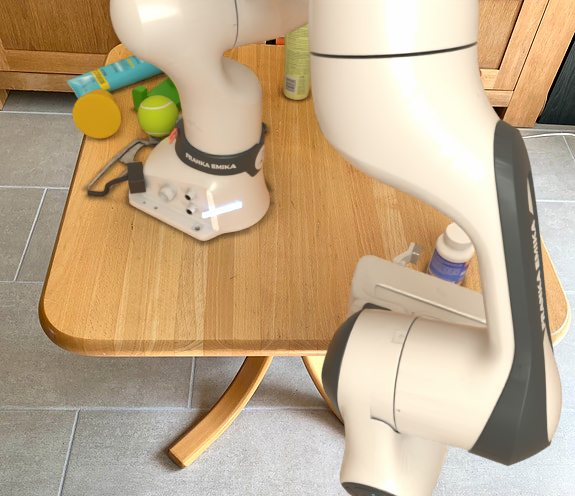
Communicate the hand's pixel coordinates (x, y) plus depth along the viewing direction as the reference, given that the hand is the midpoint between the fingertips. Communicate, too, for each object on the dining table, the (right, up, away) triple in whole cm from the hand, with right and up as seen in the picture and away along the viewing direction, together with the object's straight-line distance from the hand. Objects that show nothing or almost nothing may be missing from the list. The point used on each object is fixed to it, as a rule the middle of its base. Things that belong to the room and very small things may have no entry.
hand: (455, 260), depth 71 cm
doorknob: (-48, +26, +37) cm, 66 cm away
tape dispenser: (-41, +30, +45) cm, 68 cm away
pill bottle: (+4, -3, +20) cm, 21 cm away
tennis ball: (-42, +22, +31) cm, 57 cm away
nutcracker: (-49, +17, +33) cm, 61 cm away
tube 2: (-18, +31, +48) cm, 60 cm away
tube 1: (-42, +39, +49) cm, 75 cm away
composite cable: (-26, +20, +38) cm, 50 cm away
